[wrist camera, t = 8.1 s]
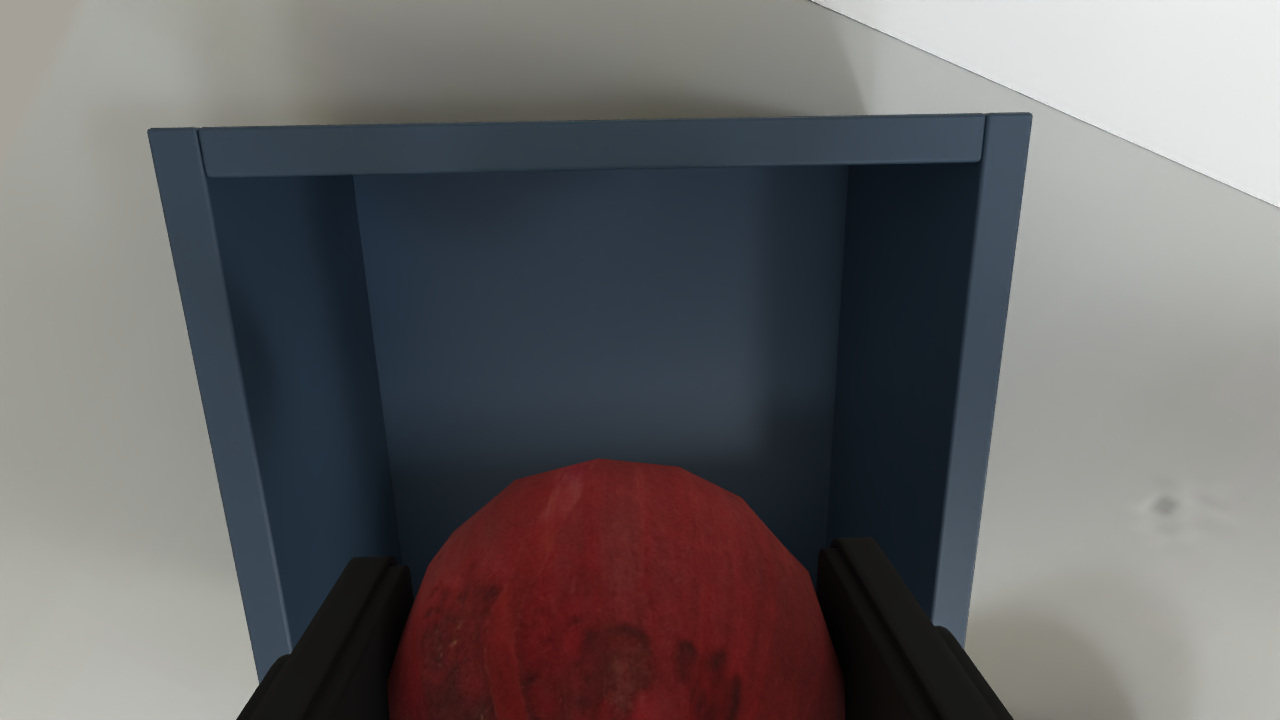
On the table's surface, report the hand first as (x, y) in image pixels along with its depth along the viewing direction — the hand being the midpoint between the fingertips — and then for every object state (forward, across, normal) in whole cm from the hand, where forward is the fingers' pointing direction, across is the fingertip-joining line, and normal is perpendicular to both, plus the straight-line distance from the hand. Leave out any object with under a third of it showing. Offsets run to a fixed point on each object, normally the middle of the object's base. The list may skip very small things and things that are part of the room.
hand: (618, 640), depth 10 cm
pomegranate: (+3, 0, 0) cm, 3 cm away
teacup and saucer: (+11, -16, -17) cm, 26 cm away
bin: (+11, 0, 0) cm, 11 cm away
